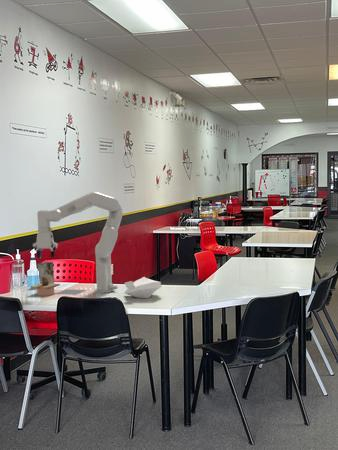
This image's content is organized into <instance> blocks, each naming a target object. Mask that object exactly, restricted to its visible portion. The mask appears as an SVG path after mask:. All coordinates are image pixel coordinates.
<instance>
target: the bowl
mask: <svg viewBox="0 0 338 450" xmlns="http://www.w3.org/2000/svg"><path fill="white" fill-rule="evenodd" d="M54 294H55V287H54V288H51V289H36V295H37V296H40V297H41V296H43V297H44V296H52V295H54Z"/></svg>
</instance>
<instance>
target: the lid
mask: <svg viewBox="0 0 338 450" xmlns="http://www.w3.org/2000/svg"><path fill="white" fill-rule="evenodd" d="M59 286H61V283H54V284H53V283H49V281H48V277H42V283H41V284H35V285H32V286H30V289H35V290H37V289H51V288H54V289H55V288H56V287H59Z"/></svg>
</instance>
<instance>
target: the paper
mask: <svg viewBox="0 0 338 450" xmlns="http://www.w3.org/2000/svg"><path fill="white" fill-rule="evenodd" d="M124 285H125V287H126V288H127V289H125V291H124V292H123V293H124V295H127V296H131V297H133V298H134V297H135V298H137V299H149V298H150V297H151V296H152V295H153V294H154V293H155V292H156V291H157V290H159V289H160V288H162V282H161V281H157V280H153V279H150V278H147V277H146V276H143V277H141V278H139V279H137V280H134V281H133V280H131V281H127V282H124Z"/></svg>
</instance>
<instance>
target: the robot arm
mask: <svg viewBox="0 0 338 450" xmlns="http://www.w3.org/2000/svg"><path fill="white" fill-rule="evenodd" d="M92 207H97V208H100V209H103V210H106V211H108V216H107V219H106V222H105V225H104V227H103V229H102V231H101V232H102V233H101V236H100V239H99V241H98V243H96V246H95V248H94V253H95V271H96V272H95V276H96V288H95V289H94V292H95V293H104V292H107V293H112V292H111V291H113V292H115V290H117V289H118V285H114V283H113V282H112V279H113V278H112V258H111V257H112V255H111V254H112V252H113V250H114V247H115V244H116V243H117V240H118V236H119V233H118V230H119V228H120V225H121V221H122V220H123V219H122V218H123V209H122V205H121V203H120V201H119V200H118V199H117V198H115V197H112V196H109V195H105V194H103V193H100V192H97V191H92V192H89V193H86V194H85V195H82V196H80V197H78V198H76V199H73V200H71V201H69V202H68V203H65V204H63V205H61V206H59V207H56V208H55V209H51V210H48V209H46V210H45V209H44V210H43V209H42V210H38V211H37V231H38V232H37V235H36V241H35V242H34V243H32V247H33V249H34V250H35V252H36V257H37V259H38V258H41V257H42V255H41V254H42V253H41V249H49V250H50V258H51V259H54V258H55V256H56V255H55V254H56V253H55V251H56V250H57V249H58V245H59V244H58V243H57V242H55V241H54V235H53V232H52V231H53V228H52V227H51V222H53V223H56V222H60V221H62V219H65V218H67V217H69V216H72V215H75V214H79V213H82V212H84V211H86V210H88V209H90V208H92Z"/></svg>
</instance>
